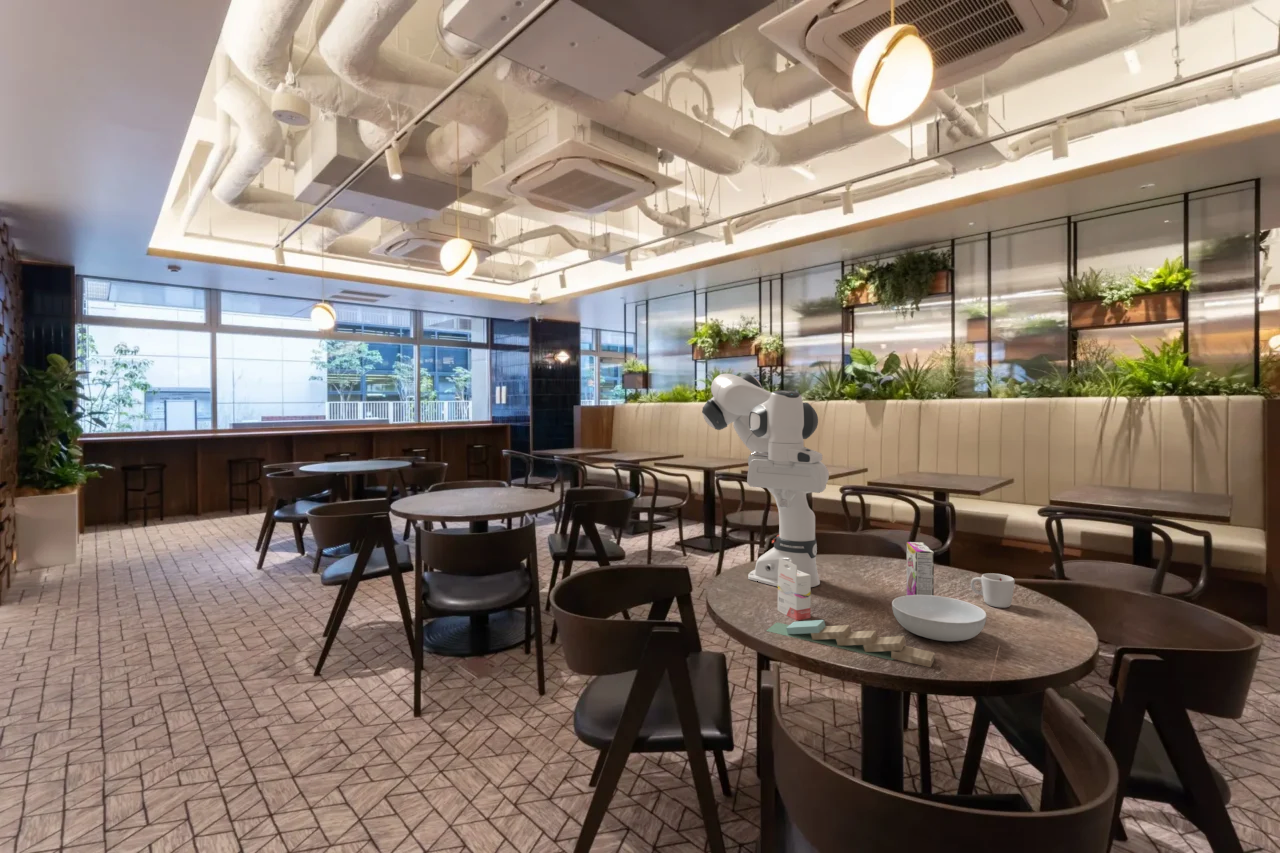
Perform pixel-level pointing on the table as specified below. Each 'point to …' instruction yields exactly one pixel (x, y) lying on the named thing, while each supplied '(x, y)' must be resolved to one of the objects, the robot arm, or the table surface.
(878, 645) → the domino
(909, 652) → the domino
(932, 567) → the candy bar box
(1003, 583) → the cup
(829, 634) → the domino
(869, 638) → the domino
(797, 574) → the ink cartridge box
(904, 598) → the serving bowl
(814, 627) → the domino
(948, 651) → the table surface
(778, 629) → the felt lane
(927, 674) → the table surface
